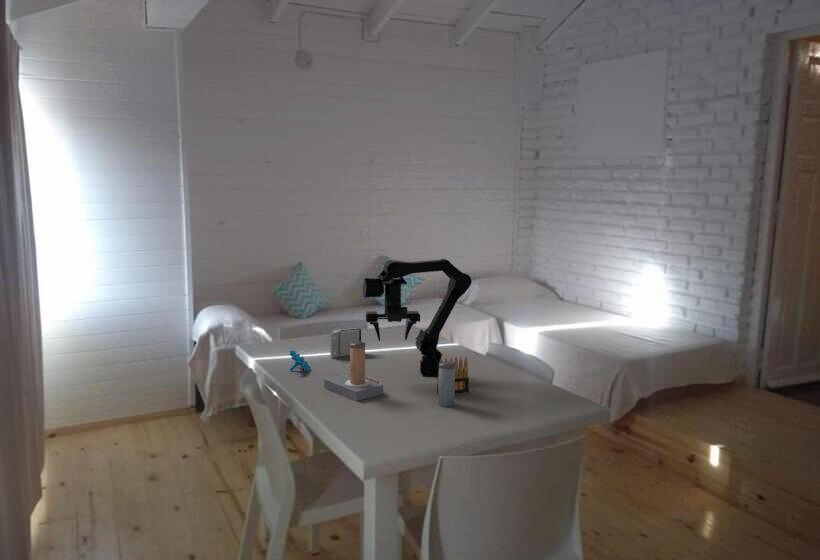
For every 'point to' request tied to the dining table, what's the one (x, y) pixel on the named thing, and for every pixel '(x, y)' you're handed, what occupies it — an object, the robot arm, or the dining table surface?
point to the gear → (299, 361)
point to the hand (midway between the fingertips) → (392, 340)
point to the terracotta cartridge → (357, 363)
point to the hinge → (343, 341)
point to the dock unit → (353, 387)
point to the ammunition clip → (459, 376)
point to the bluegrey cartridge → (446, 384)
